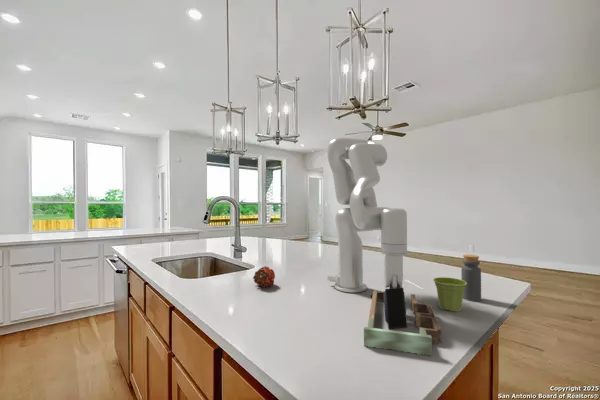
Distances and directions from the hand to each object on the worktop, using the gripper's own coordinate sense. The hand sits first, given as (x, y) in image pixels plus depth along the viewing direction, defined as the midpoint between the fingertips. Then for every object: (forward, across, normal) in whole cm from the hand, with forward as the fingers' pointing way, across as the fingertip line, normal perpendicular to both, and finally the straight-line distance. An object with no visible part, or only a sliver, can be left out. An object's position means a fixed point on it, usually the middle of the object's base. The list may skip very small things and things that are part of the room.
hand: (394, 308), depth 85 cm
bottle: (+2, -21, +26) cm, 34 cm away
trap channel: (+1, +6, +2) cm, 6 cm away
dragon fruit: (+2, -15, -50) cm, 52 cm away
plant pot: (+2, -9, +17) cm, 20 cm away
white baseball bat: (+2, -28, +12) cm, 30 cm away
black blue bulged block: (+2, +7, 0) cm, 8 cm away
